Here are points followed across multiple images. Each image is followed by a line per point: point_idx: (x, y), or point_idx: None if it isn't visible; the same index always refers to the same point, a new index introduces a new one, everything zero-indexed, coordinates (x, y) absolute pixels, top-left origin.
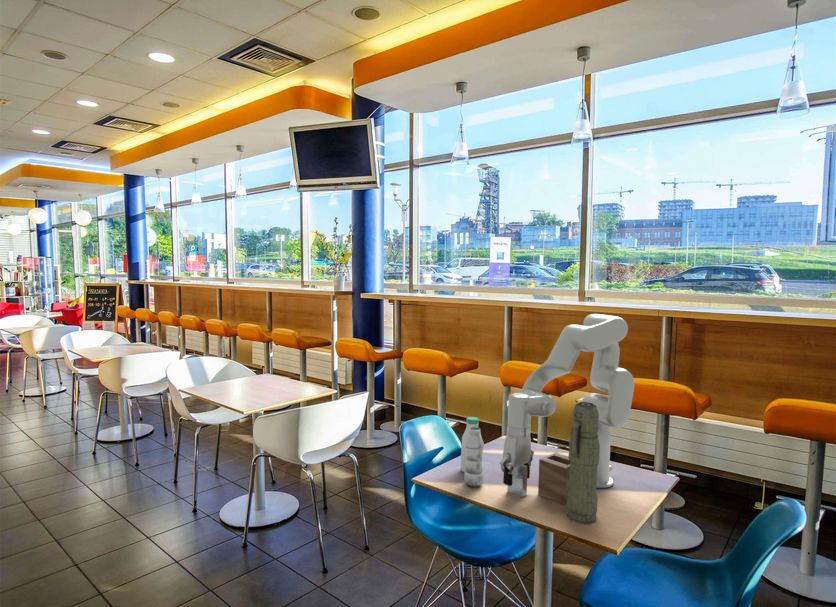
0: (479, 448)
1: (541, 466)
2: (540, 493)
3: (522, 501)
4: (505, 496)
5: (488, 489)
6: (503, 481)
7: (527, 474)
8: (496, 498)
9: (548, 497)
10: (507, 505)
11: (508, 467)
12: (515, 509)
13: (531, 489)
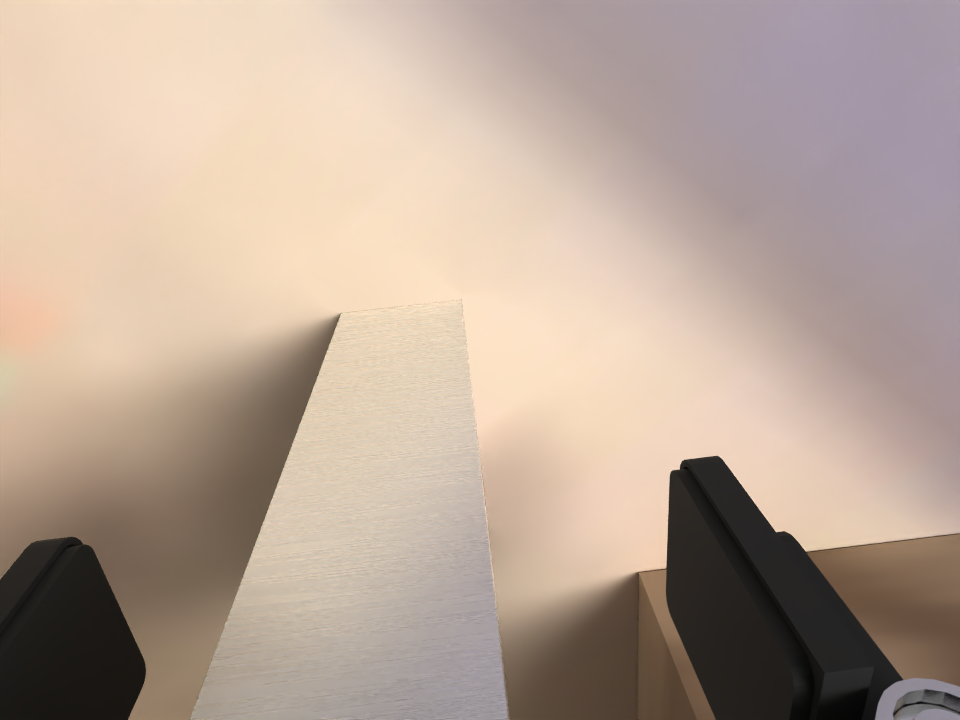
0: None
1: None
2: (645, 615)
3: None
4: (199, 409)
5: (76, 45)
6: (18, 564)
7: (695, 659)
8: (19, 387)
9: (639, 688)
10: None
11: (220, 660)
12: None
13: (706, 443)
